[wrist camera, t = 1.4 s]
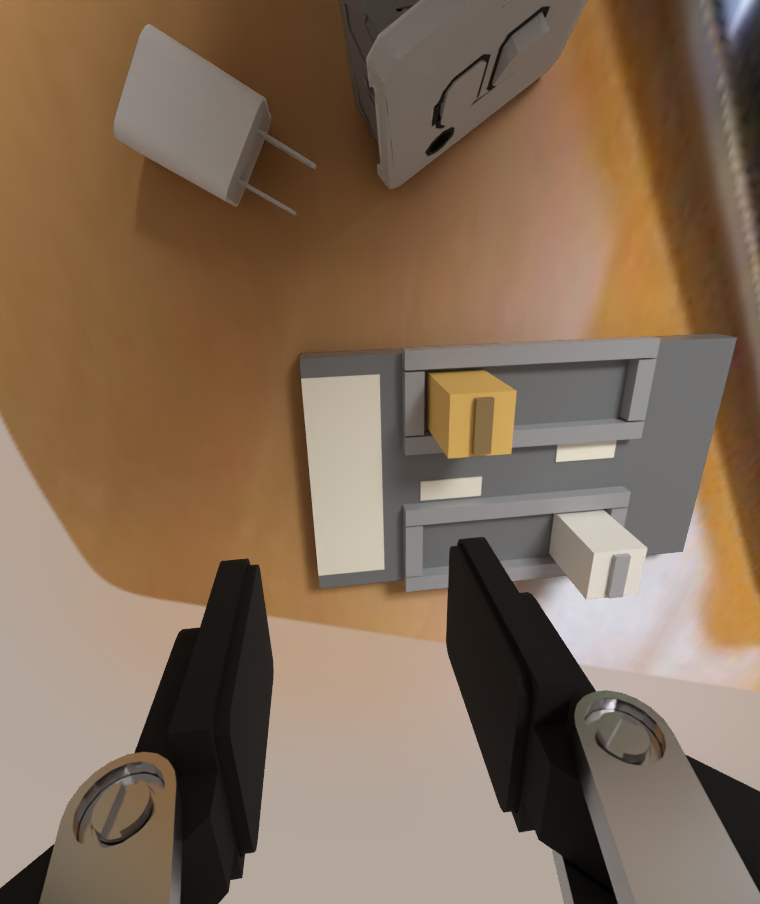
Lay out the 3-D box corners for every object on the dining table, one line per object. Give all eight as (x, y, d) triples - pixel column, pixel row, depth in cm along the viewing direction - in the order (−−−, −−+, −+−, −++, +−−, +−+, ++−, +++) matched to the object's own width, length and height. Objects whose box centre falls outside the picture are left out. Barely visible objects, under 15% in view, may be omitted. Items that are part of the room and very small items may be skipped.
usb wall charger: (176, 60, 20) (145, 16, 16) (325, 153, 22) (327, 133, 18) (144, 156, 21) (109, 135, 18) (289, 237, 23) (284, 233, 19)
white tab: (554, 511, 29) (597, 556, 25) (600, 507, 29) (651, 551, 25) (548, 553, 30) (589, 603, 26) (593, 548, 31) (641, 597, 26)
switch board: (299, 347, 25) (298, 355, 23) (717, 328, 28) (750, 333, 26) (319, 577, 31) (320, 601, 28) (666, 543, 33) (690, 562, 31)
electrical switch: (387, 197, 23) (414, 131, 14) (321, 92, 22) (306, -54, 13) (552, 68, 22) (694, -90, 13) (495, -51, 21) (611, -321, 12)
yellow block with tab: (427, 372, 25) (451, 396, 20) (483, 369, 25) (519, 392, 21) (426, 426, 26) (449, 461, 21) (480, 423, 26) (513, 456, 22)
